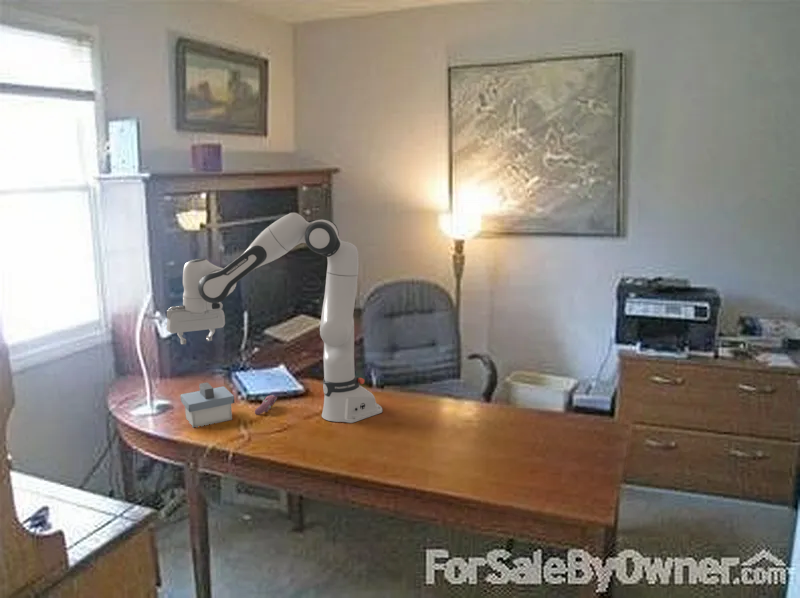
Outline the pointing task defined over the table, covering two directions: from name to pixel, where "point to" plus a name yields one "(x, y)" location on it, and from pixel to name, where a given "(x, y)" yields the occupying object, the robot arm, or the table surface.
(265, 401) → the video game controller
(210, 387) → the lid
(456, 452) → the table surface
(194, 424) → the storage box
